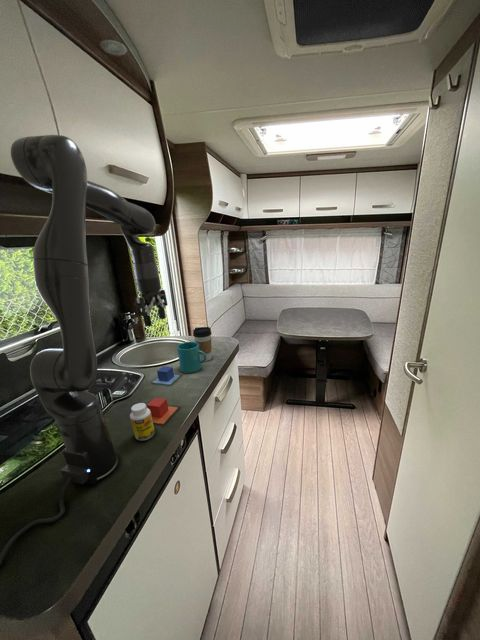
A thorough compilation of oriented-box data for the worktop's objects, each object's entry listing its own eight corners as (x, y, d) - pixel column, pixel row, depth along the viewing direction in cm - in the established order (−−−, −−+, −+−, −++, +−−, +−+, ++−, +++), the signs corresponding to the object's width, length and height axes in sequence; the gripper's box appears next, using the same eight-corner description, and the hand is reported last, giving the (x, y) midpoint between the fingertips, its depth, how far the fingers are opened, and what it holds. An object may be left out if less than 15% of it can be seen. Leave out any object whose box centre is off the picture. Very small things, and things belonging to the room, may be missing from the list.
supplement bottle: (137, 444, 80) (129, 414, 75) (133, 433, 84) (126, 405, 80) (157, 436, 82) (150, 407, 78) (152, 426, 87) (146, 399, 83)
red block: (161, 418, 90) (158, 406, 88) (149, 416, 91) (146, 405, 89) (168, 410, 94) (166, 399, 92) (157, 408, 95) (155, 397, 93)
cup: (205, 373, 118) (202, 349, 114) (177, 373, 119) (173, 349, 115) (210, 364, 126) (207, 341, 122) (184, 364, 127) (181, 341, 123)
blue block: (168, 381, 112) (166, 371, 110) (158, 380, 113) (156, 370, 111) (174, 376, 116) (172, 367, 114) (164, 375, 117) (163, 366, 115)
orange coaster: (163, 424, 87) (163, 423, 87) (138, 420, 90) (138, 419, 89) (178, 408, 95) (177, 407, 95) (155, 405, 97) (155, 404, 97)
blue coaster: (170, 385, 110) (169, 384, 110) (152, 383, 112) (152, 382, 112) (180, 375, 117) (180, 374, 117) (163, 374, 119) (163, 373, 119)
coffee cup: (212, 362, 128) (209, 331, 123) (194, 362, 129) (190, 332, 123) (215, 354, 136) (212, 325, 130) (198, 355, 136) (194, 326, 130)
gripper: (150, 273, 101) (158, 316, 107) (123, 279, 88) (133, 327, 95) (168, 273, 99) (175, 317, 105) (143, 279, 86) (153, 329, 93)
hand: (155, 322), depth 100 cm, fingers open, 8 cm apart
